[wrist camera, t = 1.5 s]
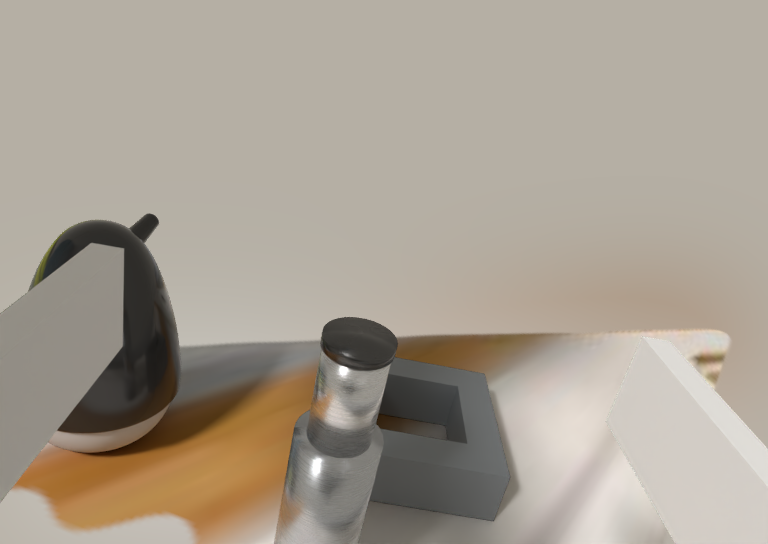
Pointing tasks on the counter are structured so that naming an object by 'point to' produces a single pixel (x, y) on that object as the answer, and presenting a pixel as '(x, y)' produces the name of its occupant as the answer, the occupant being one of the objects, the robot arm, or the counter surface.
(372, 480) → the tube
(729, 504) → the robot arm
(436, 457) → the socket block
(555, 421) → the counter surface
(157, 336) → the dark grey egg shape
